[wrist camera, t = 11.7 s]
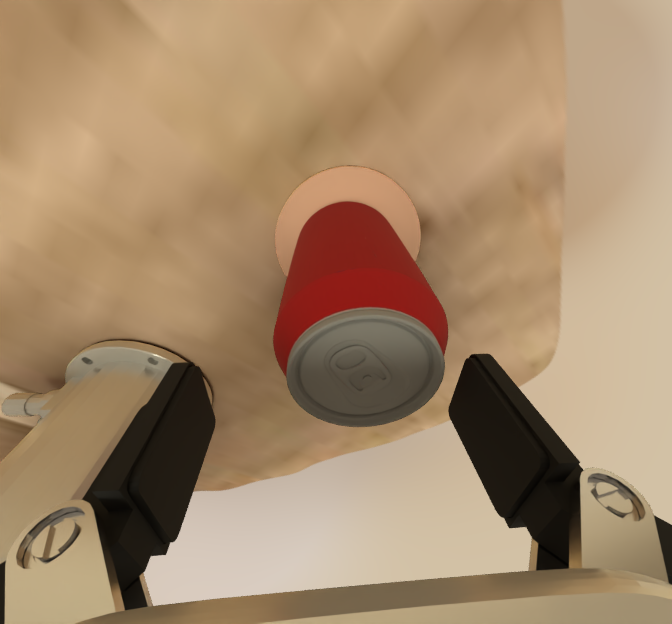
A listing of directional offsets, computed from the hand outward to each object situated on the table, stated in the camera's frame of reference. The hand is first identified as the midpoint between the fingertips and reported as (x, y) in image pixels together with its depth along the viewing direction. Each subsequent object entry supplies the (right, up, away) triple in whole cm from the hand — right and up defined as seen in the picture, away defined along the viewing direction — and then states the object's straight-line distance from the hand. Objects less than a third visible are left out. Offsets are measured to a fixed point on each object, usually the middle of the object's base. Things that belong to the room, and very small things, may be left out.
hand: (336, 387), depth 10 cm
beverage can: (+1, +7, +10) cm, 12 cm away
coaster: (+1, +8, +10) cm, 12 cm away
